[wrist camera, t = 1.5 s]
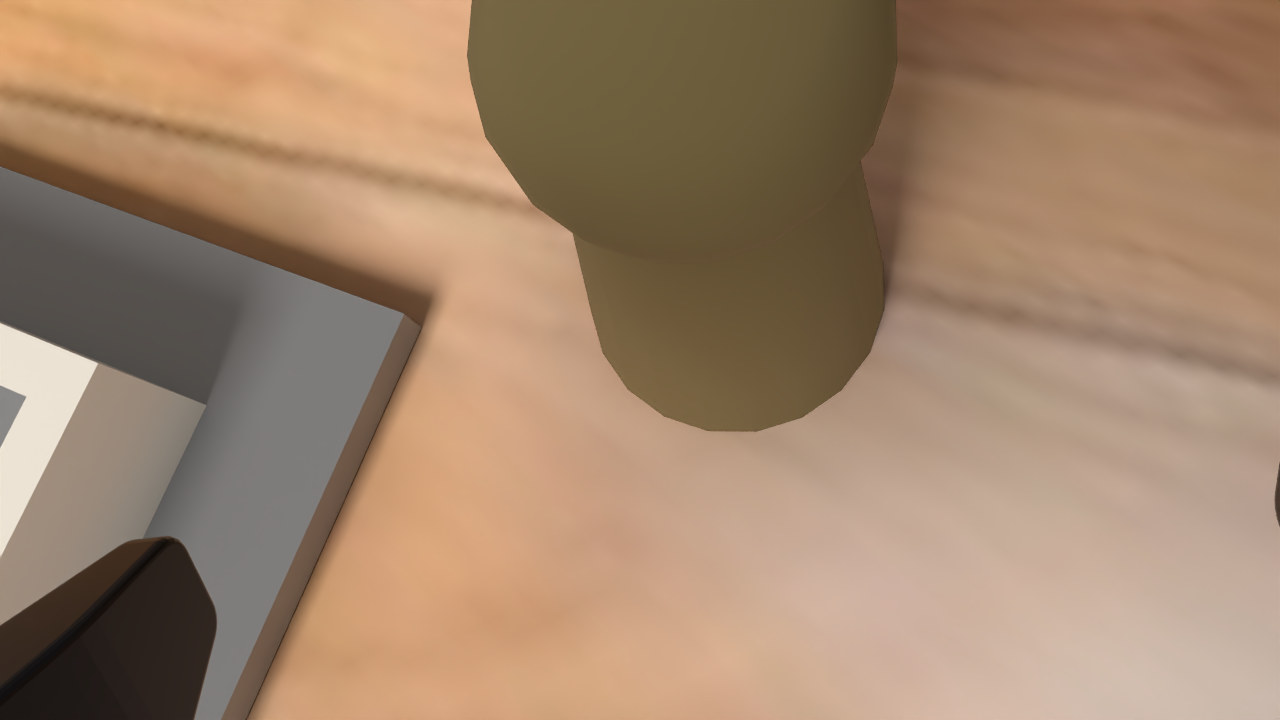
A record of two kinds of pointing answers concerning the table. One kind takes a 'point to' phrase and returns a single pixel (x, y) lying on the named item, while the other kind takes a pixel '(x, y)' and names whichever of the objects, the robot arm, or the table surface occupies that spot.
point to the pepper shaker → (703, 184)
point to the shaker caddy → (177, 413)
